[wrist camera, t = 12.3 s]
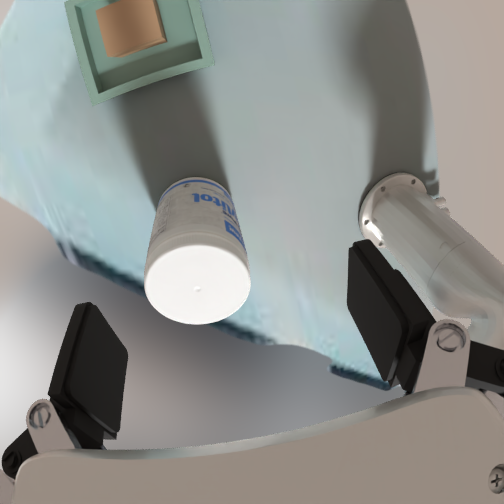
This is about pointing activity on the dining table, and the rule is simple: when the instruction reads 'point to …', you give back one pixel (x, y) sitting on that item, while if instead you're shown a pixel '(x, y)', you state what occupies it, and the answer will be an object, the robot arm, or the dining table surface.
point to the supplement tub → (196, 254)
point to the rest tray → (145, 61)
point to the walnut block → (130, 26)
